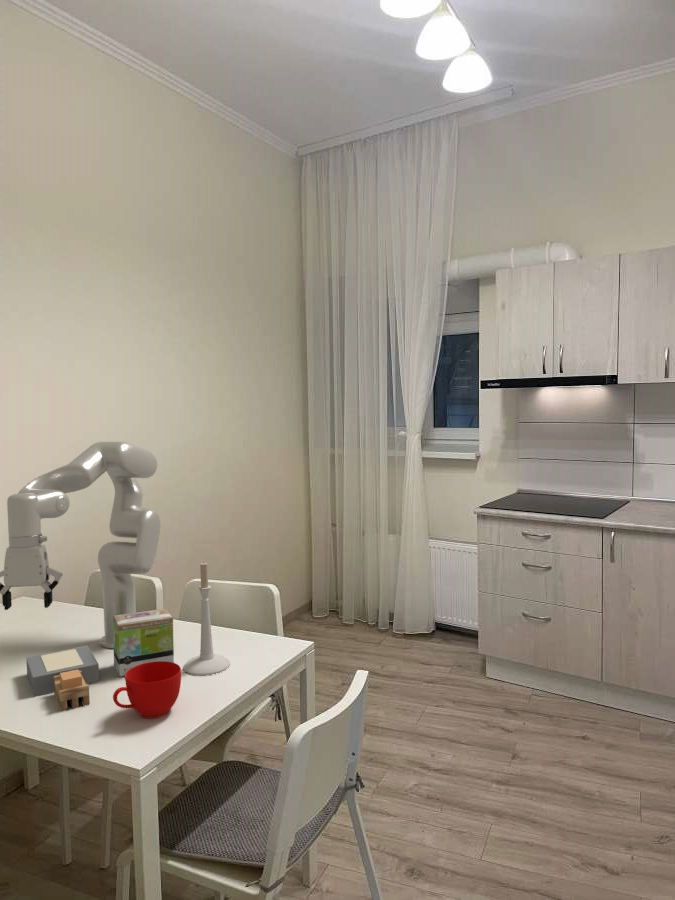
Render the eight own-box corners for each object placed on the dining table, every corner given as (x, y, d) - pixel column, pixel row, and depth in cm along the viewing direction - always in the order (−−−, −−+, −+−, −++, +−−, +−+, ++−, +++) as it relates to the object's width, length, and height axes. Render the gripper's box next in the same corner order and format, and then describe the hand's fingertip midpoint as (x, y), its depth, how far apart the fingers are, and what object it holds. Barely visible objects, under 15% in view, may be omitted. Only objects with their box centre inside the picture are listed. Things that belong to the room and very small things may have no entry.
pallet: (81, 689, 171) (80, 670, 171) (89, 705, 162) (88, 685, 161) (54, 695, 168) (53, 676, 167) (61, 712, 158) (60, 692, 158)
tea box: (119, 678, 177) (117, 625, 176) (113, 665, 186) (111, 614, 185) (175, 667, 184) (173, 616, 183) (166, 655, 193) (165, 606, 192)
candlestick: (184, 678, 176) (181, 569, 174) (183, 660, 189) (179, 558, 186) (232, 672, 180) (229, 565, 178) (227, 655, 192) (224, 555, 190)
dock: (88, 662, 188) (87, 644, 188) (99, 682, 175) (98, 663, 174) (27, 674, 180) (26, 656, 180) (33, 696, 167) (32, 676, 166)
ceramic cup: (100, 719, 154) (98, 678, 153) (162, 695, 166) (161, 656, 166) (130, 737, 145) (128, 694, 144) (193, 710, 158) (191, 670, 157)
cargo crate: (78, 679, 168) (78, 669, 168) (82, 686, 163) (81, 676, 163) (60, 683, 166) (59, 673, 165) (63, 690, 161) (62, 680, 161)
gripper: (64, 537, 172) (67, 601, 173) (-6, 540, 170) (-3, 605, 171) (56, 543, 165) (59, 609, 166) (-17, 546, 162) (-14, 613, 163)
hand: (27, 607), depth 168 cm, fingers open, 9 cm apart
